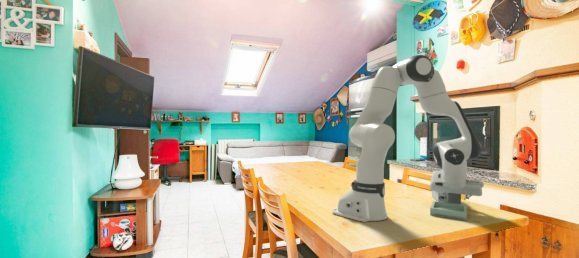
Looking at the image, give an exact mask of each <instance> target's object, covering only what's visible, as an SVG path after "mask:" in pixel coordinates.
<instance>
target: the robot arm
mask: <svg viewBox="0 0 579 258" xmlns="http://www.w3.org/2000/svg"><path fill="white" fill-rule="evenodd" d="M408 85H413V86H414V87H415V89H416V92H417V97H418V101H419V104H420V106H421V109H422V110H423V111H424V112H426V113H428V114H430V115H435V116H443V117H444V116H445V117H450V118H452V120H454V121H455V124H456V126H457V127H458V130H459V132H460V134H461V136H460V137H458V138H454V139H448V140H444V141H443V140H442V141H439V142H435V143H434V145H433V146H432V157H433V161H434V163H435V165H436V166H437V167H439V168H440V170H434V171H432V176H431V177H430V183H429V190H430V191H431V192H432V191H437V192H439V193H440V194H442V196H445V192H446V193H454V194H461V195H464V198H465V199H466V200H470V198H471V197H473V196H474V197H481V196H483V188H484V186H485V183H484V182H483V181H480V180H478V179H468V173H467V171H468V164H467V163H468V161H469V160H471V161H472V160H477V159H478V158H479V157H480V155H482V153H483V148H482V144H481V143H480V141H479V140H478V138H477V136H476V134H475V132H474V130H473V128H472V126H471V124H470V122H469V119H468V118H467V115H466V114H465V111H464V110H463V108H462V106H461V105H460V103H458V102H457V101H455V100H453V99H451V98H450V96H449V95H448V92H447V89H446V86H445V82H444V79H443V78H442V76H441V73H440V72H439V71H438V70H436V69H435V67H434V64H433V62H432V60H431V59H430V58H429V57H428V56H427V55H425V54H424V55H423V54H417V55H413V56H411V57H408V58H404V59H402V60H400V61H398V62H396V63H394V64H392V65H390V66H389V65H386V66H382V67H380V68H379V69H378V70H377V72H376V74H375V76H374V78H373V80H372V83H371V85H370V88H369V93H368V95H367V98H366V101H365V104H364V107H363V109H362V111H361V113H360V114H359V116H358V117H357V120H356V121H355V123H354V124H353V126H351V128H350V129H349V132H348V138H349V141H350V142H351V143H352V144H354V145H355V146H357V147H359V148H361V153H360V156H359V159H358V160H357V161H356V164H355V166H356V167H355V168H356V169H355V171H356V173H355V175H356V176H355V177H356V178H355V179H354V180H353V181H352V182H351V183H350V187H351V189H350V190H348V191H347V192H345V193H344V194H343V195H342V196H340V197H339V199H338V203H337V205H336V206H335V207H333V208H332V214H334V215H337V216H340V217H343V218H348V219H351V220H355V221H359V222H363V223H365V222H366V223H367V222H376V221H383V220H386V219H388V213H387V209H386V205H385V204H386V203H385V195H386V186H385V181H384V180H385V179H384V177H385V176H384V175H385V174H384V171H385V170H384V169H385V161H386V157H387V154H388V151H389V149H390V148H391V147H392V146H393V144H394V142H395V139H396V134H395V131H394V129H393V128H392V126H391V125H388V124H385V123H384V122H385V121H386V119H387V117H389V116H391V113H392V112H393V108H394V105H395V102H396V99H397V97H398V96H397V95H398V92H399V88H400V87H404V86H408Z"/></svg>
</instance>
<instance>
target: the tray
mask: <svg viewBox="0 0 579 258" xmlns="http://www.w3.org/2000/svg"><path fill="white" fill-rule="evenodd" d="M467 210H468V209H467V205H466V204H462V203H461V204H454V203H448V202H438V201H437V200H432V202H431V205H430V208H429V215H430V216H433V217H441V218H447V219H453V220H459V221H460V220H461V221H465V222H466V221H467V220H468V218H467V217H468V216H467V215H468V212H467Z"/></svg>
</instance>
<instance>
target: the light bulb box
mask: <svg viewBox="0 0 579 258" xmlns="http://www.w3.org/2000/svg"><path fill="white" fill-rule="evenodd" d="M431 197H432V198H433V199H434V200H435V201H438V202H446V203H448V193H446V192H445V196H442V194H440V193H439V192H437V191H431Z"/></svg>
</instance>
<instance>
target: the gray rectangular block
mask: <svg viewBox="0 0 579 258" xmlns="http://www.w3.org/2000/svg"><path fill="white" fill-rule="evenodd" d="M447 203H454V204H461V205H462V194H454V193H448V202H447Z"/></svg>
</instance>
